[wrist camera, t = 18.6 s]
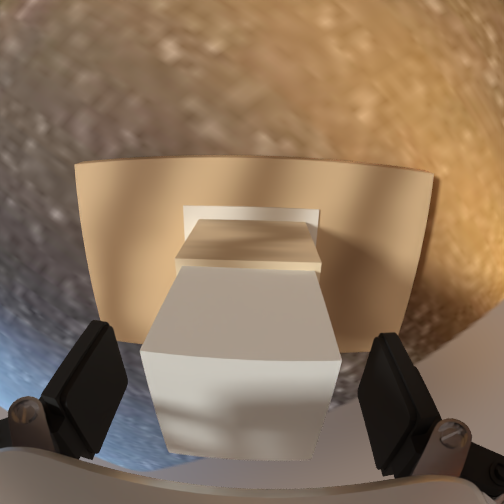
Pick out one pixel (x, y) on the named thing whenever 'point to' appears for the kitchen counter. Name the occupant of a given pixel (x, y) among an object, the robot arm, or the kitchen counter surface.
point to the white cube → (242, 363)
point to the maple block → (250, 246)
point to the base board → (255, 208)
